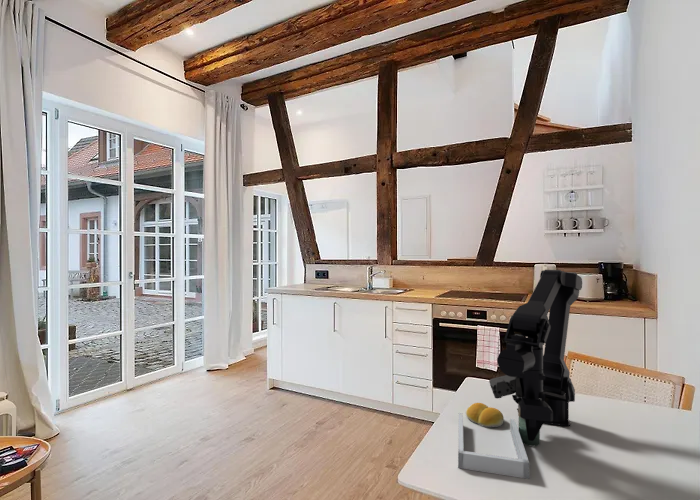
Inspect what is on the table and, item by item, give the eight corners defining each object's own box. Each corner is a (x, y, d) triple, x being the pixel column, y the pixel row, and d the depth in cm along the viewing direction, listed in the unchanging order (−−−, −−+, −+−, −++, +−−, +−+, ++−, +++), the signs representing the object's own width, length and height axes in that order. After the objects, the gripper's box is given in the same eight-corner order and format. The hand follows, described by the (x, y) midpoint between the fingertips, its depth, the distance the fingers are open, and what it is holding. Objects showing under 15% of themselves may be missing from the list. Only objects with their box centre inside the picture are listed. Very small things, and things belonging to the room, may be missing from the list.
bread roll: (493, 432, 92) (493, 415, 92) (461, 419, 99) (461, 404, 99) (510, 422, 98) (510, 406, 98) (478, 411, 105) (478, 396, 105)
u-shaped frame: (514, 431, 92) (514, 419, 92) (529, 478, 73) (529, 462, 73) (458, 424, 95) (458, 412, 95) (458, 467, 76) (458, 452, 76)
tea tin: (538, 438, 89) (538, 411, 89) (542, 447, 84) (542, 419, 85) (516, 435, 90) (516, 409, 90) (519, 444, 86) (519, 416, 86)
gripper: (488, 354, 99) (488, 414, 99) (495, 376, 81) (495, 450, 81) (536, 357, 96) (536, 420, 95) (553, 381, 78) (553, 458, 77)
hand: (529, 435), depth 87 cm, fingers closed on tea tin, 4 cm apart
